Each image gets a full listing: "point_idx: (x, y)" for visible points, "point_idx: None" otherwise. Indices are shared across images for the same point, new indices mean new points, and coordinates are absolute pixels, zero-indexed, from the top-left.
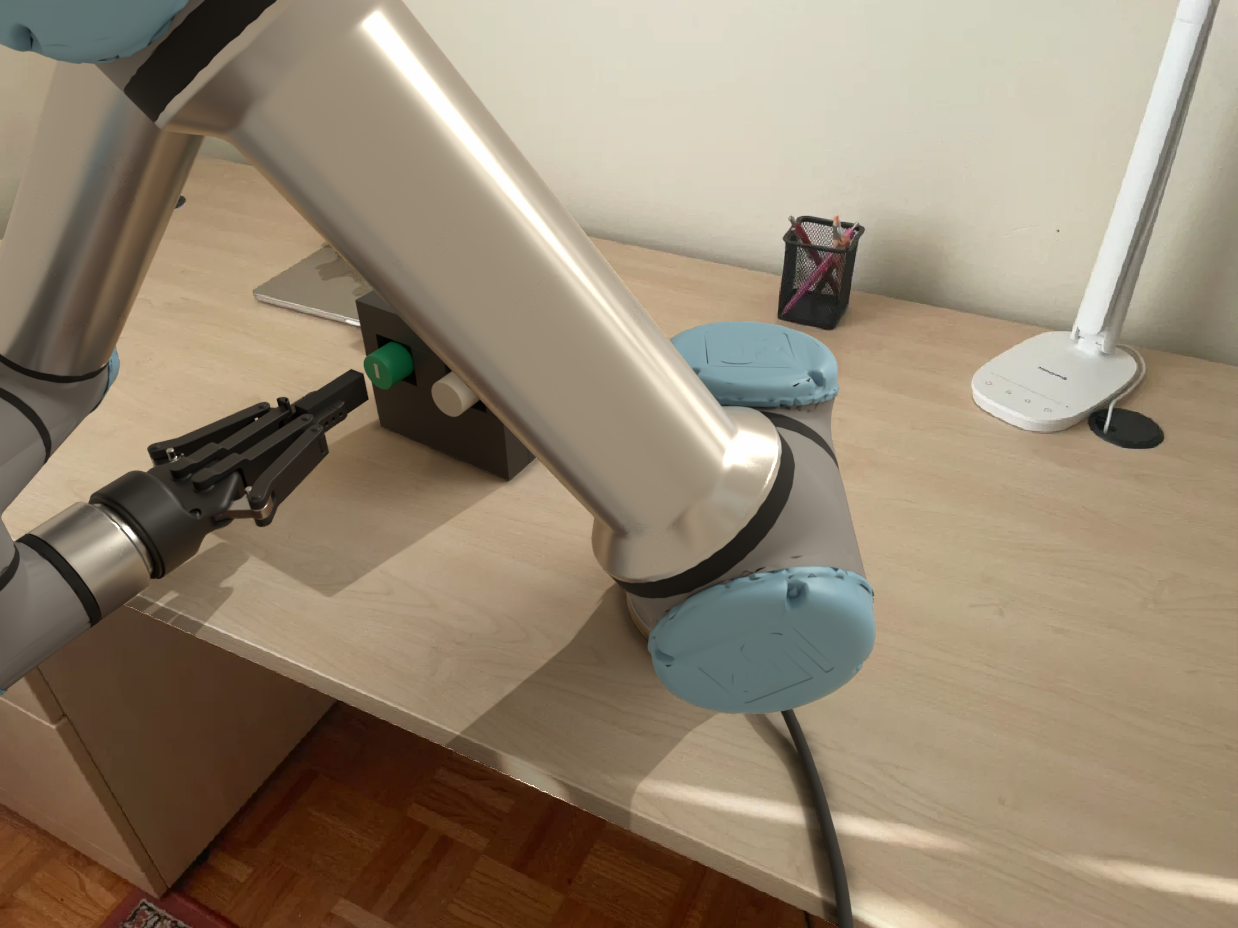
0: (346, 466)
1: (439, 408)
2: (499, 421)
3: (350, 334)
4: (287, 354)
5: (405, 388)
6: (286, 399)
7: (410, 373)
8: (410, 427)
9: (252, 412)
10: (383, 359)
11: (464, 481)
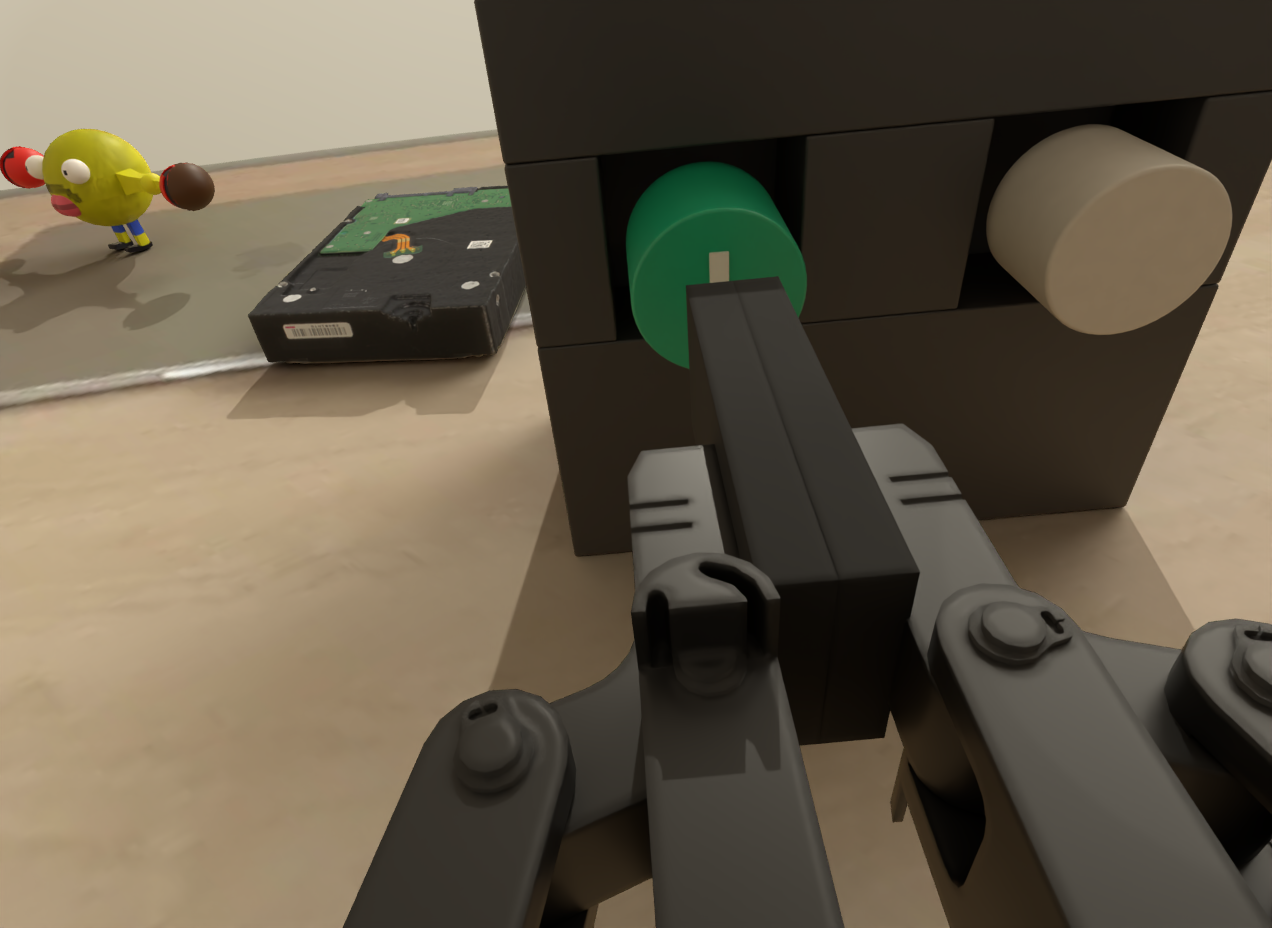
0: None
1: (1067, 322)
2: (1198, 298)
3: (206, 394)
4: (47, 510)
5: None
6: (704, 572)
7: None
8: None
9: (486, 894)
10: (761, 209)
11: (1038, 572)
